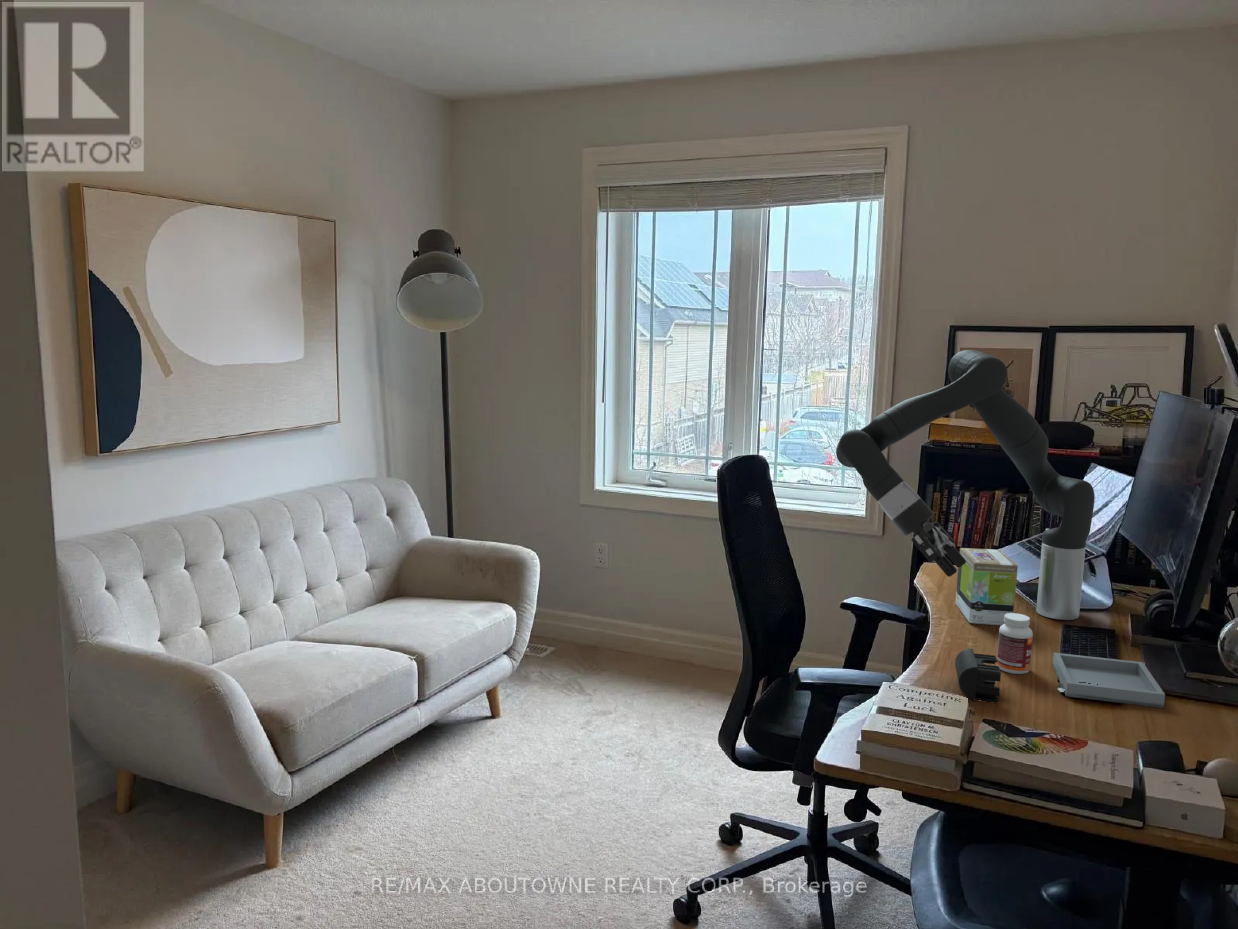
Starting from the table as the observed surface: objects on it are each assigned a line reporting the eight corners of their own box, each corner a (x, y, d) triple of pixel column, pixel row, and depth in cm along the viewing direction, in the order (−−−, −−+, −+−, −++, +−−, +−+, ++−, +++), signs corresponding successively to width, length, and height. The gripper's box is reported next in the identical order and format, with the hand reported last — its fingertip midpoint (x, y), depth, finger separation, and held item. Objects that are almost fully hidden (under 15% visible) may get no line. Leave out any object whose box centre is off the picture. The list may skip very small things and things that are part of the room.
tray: (1052, 664, 178) (1053, 652, 177) (1141, 674, 173) (1142, 662, 173) (1066, 696, 163) (1067, 683, 162) (1163, 708, 158) (1165, 694, 158)
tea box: (1014, 626, 200) (1019, 564, 198) (968, 624, 202) (972, 562, 200) (996, 606, 215) (1001, 548, 213) (954, 604, 217) (958, 546, 214)
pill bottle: (1031, 677, 172) (1036, 623, 170) (998, 673, 174) (1002, 620, 172) (1027, 665, 178) (1031, 613, 176) (994, 661, 179) (998, 610, 178)
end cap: (953, 679, 171) (955, 646, 170) (992, 683, 169) (995, 650, 168) (957, 700, 161) (959, 665, 160) (998, 705, 159) (1001, 670, 158)
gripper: (909, 502, 176) (965, 566, 171) (927, 492, 187) (979, 551, 183) (881, 524, 179) (935, 588, 175) (901, 513, 191) (951, 572, 187)
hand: (958, 569), depth 179 cm, fingers open, 8 cm apart
